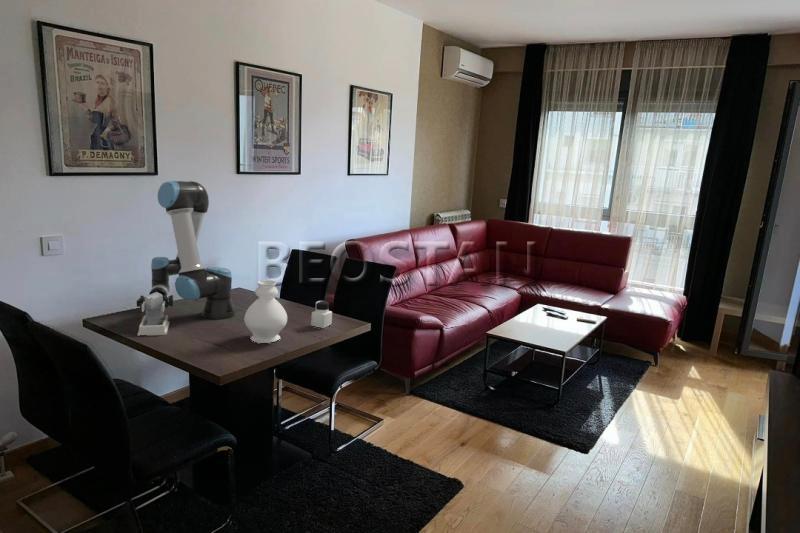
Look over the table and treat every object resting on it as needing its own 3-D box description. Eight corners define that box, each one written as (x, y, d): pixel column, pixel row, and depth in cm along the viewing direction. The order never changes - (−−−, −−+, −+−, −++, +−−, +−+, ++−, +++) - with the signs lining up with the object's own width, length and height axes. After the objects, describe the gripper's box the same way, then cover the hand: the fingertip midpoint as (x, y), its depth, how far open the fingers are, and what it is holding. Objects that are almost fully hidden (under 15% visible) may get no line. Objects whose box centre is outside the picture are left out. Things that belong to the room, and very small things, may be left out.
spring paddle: (160, 326, 231) (160, 309, 229) (160, 327, 229) (160, 309, 228) (147, 327, 229) (147, 309, 227) (147, 328, 228) (146, 310, 226)
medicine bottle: (331, 325, 253) (332, 301, 251) (323, 329, 247) (324, 304, 245) (319, 323, 256) (320, 298, 254) (310, 326, 250) (311, 301, 247)
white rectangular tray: (169, 323, 240) (169, 314, 239) (166, 334, 225) (166, 325, 224) (142, 324, 236) (142, 315, 235) (137, 335, 221) (137, 326, 220)
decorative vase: (264, 349, 217) (266, 289, 212) (235, 339, 226) (235, 281, 221) (295, 338, 232) (297, 282, 227) (265, 329, 241) (267, 275, 236)
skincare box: (158, 314, 238) (156, 290, 232) (164, 318, 236) (163, 294, 230) (145, 319, 233) (143, 296, 227) (152, 323, 231) (150, 300, 225)
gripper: (181, 302, 251) (178, 316, 230) (134, 302, 244) (126, 317, 223) (181, 286, 249) (178, 299, 228) (134, 287, 243) (126, 300, 222)
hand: (152, 308), depth 226 cm, fingers open, 7 cm apart
